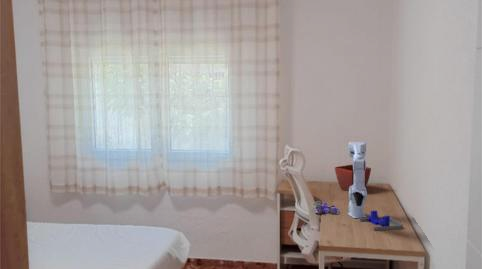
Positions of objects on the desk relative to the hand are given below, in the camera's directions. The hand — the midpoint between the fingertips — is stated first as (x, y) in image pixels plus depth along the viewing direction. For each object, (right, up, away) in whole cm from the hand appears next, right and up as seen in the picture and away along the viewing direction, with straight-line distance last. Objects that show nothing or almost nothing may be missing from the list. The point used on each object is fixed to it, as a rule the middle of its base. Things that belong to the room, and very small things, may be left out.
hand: (358, 205), depth 222 cm
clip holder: (+12, -10, 0) cm, 15 cm away
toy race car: (-12, -9, +25) cm, 30 cm away
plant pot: (+19, -3, +81) cm, 83 cm away
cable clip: (+11, -11, +1) cm, 15 cm away
